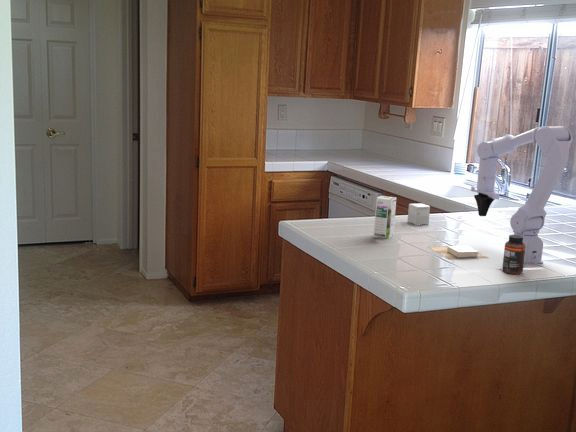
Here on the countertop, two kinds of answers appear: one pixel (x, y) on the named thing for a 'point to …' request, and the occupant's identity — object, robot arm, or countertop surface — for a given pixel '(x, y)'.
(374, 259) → the countertop surface
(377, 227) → the syrup box
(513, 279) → the countertop surface
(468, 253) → the tile
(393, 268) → the countertop surface
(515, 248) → the supplement bottle
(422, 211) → the white stone block
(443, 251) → the cork mat
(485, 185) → the robot arm
